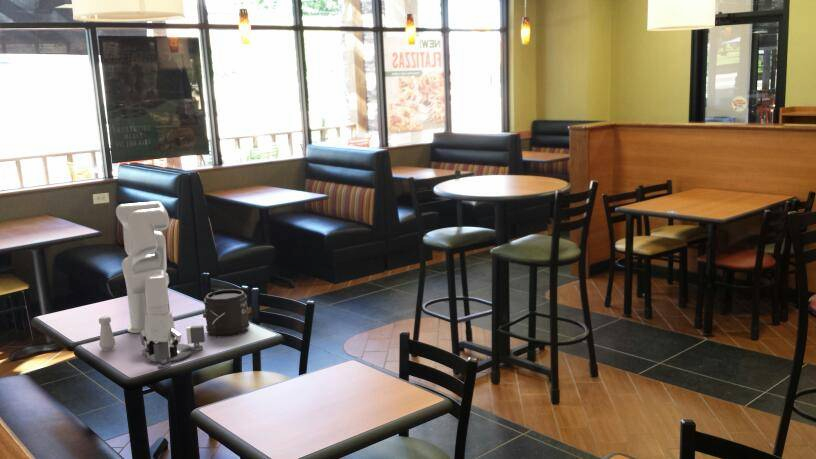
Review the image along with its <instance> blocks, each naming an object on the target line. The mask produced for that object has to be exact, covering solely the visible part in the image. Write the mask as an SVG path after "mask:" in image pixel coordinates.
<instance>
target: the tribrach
mask: <svg viewBox="0 0 816 459" xmlns="http://www.w3.org/2000/svg"><path fill="white" fill-rule="evenodd" d="M171 341H172V340H171ZM172 343H173V341H172ZM203 349H204V346H203V345H202V344H199V347H194V345H192V346H191V345H189V344H185V343H178V345H177V353H178V355H177V356H175V357H173V358H171V357H168V358H167V363H164V364H162V363H161V361H155V355H154V354H153V355H149V351H145V349H144V350H142V351H141V355H142V356H146V357H147V358H146V359H147V360H146V361H147V362H149V363H152V364H157V368H159V369H166V368H167V369H168V368H170V367H172V363H179V362H181V361H184V360H186V359H188V358H190V357H191V356H192V355H193V353H194V352H201V351H202V350H203ZM203 351H204V350H203Z"/></svg>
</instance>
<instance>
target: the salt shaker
mask: <svg viewBox="0 0 816 459" xmlns="http://www.w3.org/2000/svg"><path fill="white" fill-rule="evenodd" d="M111 322H112V319H111V317H110V316H106V315H104V316H101V317H99V318H98V324H99V325H100V333H99V334H100V336H99V343H98V344H99V347H100V349H102V351H103V352H109V351H112V349H113V348H114V349H115V346H116V339H115V336H114V333H113V330H112V327H111ZM114 349H113V350H114Z"/></svg>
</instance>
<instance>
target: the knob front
mask: <svg viewBox="0 0 816 459" xmlns="http://www.w3.org/2000/svg"><path fill="white" fill-rule="evenodd" d="M153 345H154V355H155V361H161V363H162V364H164V363H167V358H168V357H170V350H169V347H171V346H170V345H169V344H168V342H155V344H153Z"/></svg>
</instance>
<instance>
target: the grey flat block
mask: <svg viewBox="0 0 816 459" xmlns="http://www.w3.org/2000/svg"><path fill="white" fill-rule="evenodd" d="M143 330H145V328H144V329H140V333H139V335H140V343H141V345H142V346H143V347H144V350H145V351H148V345H147V344H146V341H145V340H144V338H143V336H142V334H141V331H143Z"/></svg>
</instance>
